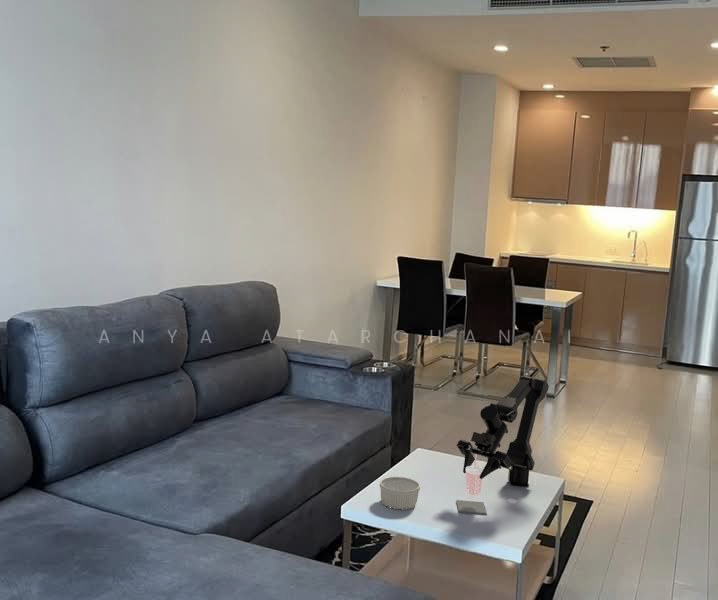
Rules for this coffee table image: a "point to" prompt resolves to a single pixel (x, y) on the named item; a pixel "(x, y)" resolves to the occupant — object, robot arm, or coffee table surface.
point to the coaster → (471, 507)
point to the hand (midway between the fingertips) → (472, 475)
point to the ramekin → (399, 492)
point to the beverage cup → (473, 480)
